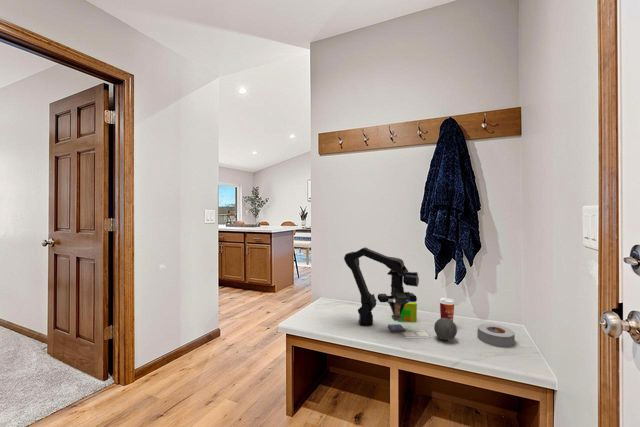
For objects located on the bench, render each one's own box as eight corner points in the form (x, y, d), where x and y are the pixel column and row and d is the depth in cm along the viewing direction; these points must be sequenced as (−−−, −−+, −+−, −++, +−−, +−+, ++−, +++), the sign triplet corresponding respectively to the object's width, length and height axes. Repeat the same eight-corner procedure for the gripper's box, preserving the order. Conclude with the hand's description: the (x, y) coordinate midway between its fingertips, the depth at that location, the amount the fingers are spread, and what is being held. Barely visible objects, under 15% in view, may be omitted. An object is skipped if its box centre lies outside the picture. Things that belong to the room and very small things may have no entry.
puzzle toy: (412, 315, 179) (413, 298, 178) (416, 322, 169) (416, 304, 168) (395, 314, 180) (395, 297, 179) (397, 321, 170) (397, 303, 169)
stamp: (394, 320, 156) (394, 303, 156) (391, 317, 160) (391, 300, 160) (401, 320, 156) (402, 303, 156) (399, 317, 160) (399, 300, 160)
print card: (405, 338, 149) (405, 337, 149) (400, 331, 157) (400, 330, 157) (432, 337, 150) (432, 337, 150) (425, 330, 157) (425, 330, 157)
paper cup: (447, 330, 158) (448, 303, 157) (435, 324, 165) (436, 298, 164) (458, 327, 162) (458, 300, 161) (445, 322, 169) (446, 296, 168)
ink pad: (391, 332, 155) (391, 329, 155) (387, 327, 162) (387, 324, 162) (405, 332, 155) (405, 329, 155) (400, 326, 162) (400, 323, 162)
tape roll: (493, 331, 157) (493, 321, 157) (522, 344, 143) (522, 333, 143) (470, 335, 152) (470, 325, 152) (497, 350, 138) (498, 338, 137)
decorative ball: (436, 343, 144) (436, 321, 143) (432, 334, 154) (432, 314, 153) (459, 344, 142) (459, 323, 142) (453, 335, 152) (454, 315, 152)
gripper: (383, 288, 149) (383, 320, 149) (421, 287, 150) (420, 319, 151) (377, 282, 160) (377, 312, 161) (412, 281, 161) (412, 311, 162)
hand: (396, 314), depth 158 cm, fingers closed on stamp, 3 cm apart
